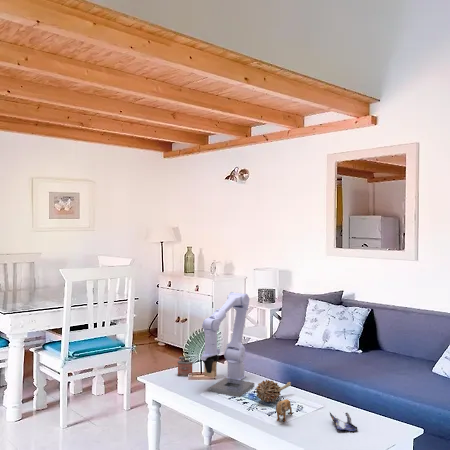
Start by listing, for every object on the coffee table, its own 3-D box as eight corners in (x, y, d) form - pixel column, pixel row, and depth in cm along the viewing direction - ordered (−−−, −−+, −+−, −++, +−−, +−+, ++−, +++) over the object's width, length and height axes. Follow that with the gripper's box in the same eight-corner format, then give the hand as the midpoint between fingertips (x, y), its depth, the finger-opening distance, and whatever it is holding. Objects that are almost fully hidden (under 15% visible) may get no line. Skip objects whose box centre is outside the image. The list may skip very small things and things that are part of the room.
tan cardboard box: (207, 374, 237) (207, 359, 237) (216, 375, 235) (216, 361, 234) (204, 375, 234) (204, 361, 234) (213, 377, 232) (213, 362, 232)
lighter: (193, 374, 257) (193, 356, 257) (192, 377, 253) (192, 357, 253) (178, 374, 258) (178, 355, 257) (176, 376, 254) (176, 357, 254)
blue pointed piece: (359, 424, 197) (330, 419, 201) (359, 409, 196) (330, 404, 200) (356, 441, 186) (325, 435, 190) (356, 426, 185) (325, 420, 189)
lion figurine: (287, 426, 194) (287, 403, 194) (274, 424, 195) (274, 402, 195) (293, 412, 208) (293, 391, 208) (280, 410, 209) (280, 389, 209)
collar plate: (225, 381, 246) (225, 377, 246) (254, 386, 239) (254, 382, 239) (209, 391, 232) (209, 387, 232) (239, 397, 225) (239, 392, 225)
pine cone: (267, 409, 211) (267, 386, 211) (250, 403, 217) (250, 381, 217) (297, 396, 227) (297, 374, 227) (280, 391, 233) (280, 370, 233)
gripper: (211, 339, 242) (211, 366, 243) (195, 345, 230) (195, 374, 230) (223, 340, 239) (223, 368, 239) (208, 347, 226) (208, 376, 226)
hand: (210, 371), depth 234 cm, fingers closed on tan cardboard box, 3 cm apart
